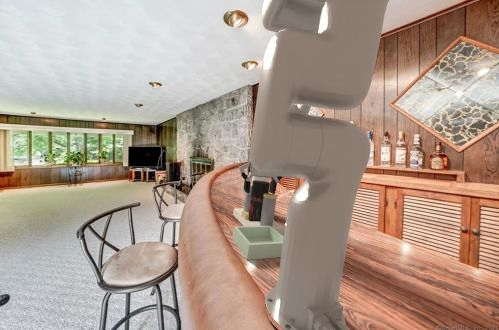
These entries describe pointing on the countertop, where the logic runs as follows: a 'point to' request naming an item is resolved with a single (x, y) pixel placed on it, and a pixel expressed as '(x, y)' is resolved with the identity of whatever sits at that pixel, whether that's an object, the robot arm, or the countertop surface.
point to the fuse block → (266, 214)
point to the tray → (258, 241)
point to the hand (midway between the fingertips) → (259, 192)
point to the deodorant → (257, 199)
